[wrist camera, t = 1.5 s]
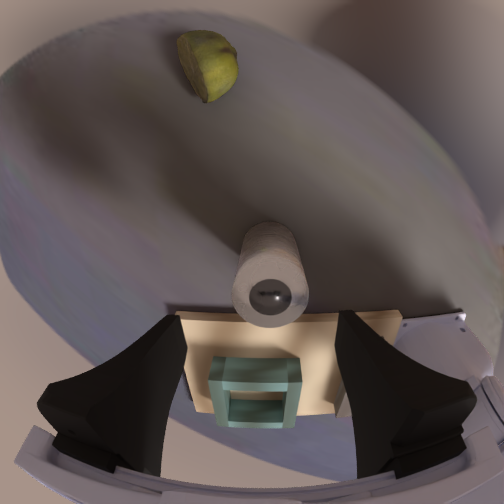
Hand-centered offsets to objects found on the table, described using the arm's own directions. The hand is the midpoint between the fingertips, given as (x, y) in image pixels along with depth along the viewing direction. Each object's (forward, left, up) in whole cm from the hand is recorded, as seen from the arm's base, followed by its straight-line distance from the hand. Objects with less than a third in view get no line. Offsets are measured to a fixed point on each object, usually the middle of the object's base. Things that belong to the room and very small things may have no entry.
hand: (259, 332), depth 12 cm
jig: (-3, +13, -9) cm, 16 cm away
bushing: (-1, 0, -10) cm, 10 cm away
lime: (+3, -13, -10) cm, 17 cm away
